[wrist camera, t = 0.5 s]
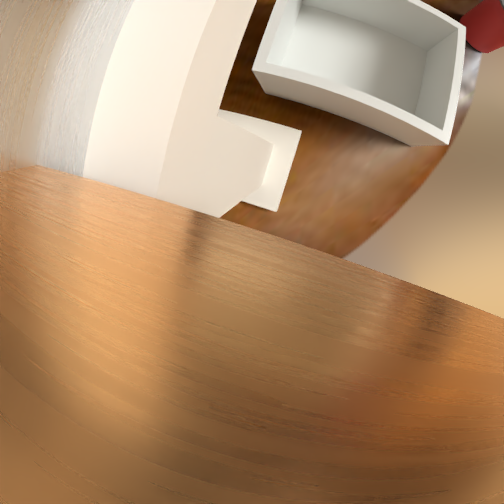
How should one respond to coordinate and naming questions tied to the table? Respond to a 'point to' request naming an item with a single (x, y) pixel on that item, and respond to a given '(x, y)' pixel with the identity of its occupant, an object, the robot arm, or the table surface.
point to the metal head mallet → (207, 331)
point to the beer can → (485, 25)
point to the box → (367, 63)
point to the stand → (184, 112)
